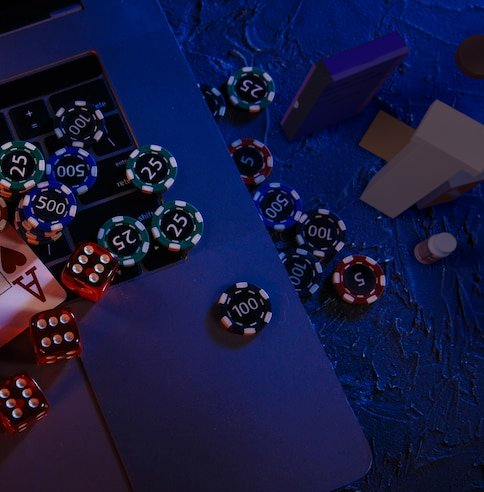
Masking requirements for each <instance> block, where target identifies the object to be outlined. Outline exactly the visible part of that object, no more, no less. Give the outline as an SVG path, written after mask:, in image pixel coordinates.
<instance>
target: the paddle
mask: <svg viewBox="0 0 484 492" xmlns="http://www.w3.org/2000/svg"><path fill="white" fill-rule="evenodd" d="M454 63H455V66H456V68H457V69H458V70H459V71H460V73H462V74H463V75H464V76H466V77H468V78H470V79H473V80H477V81H478V80H479V81H483V80H484V34H472V35H470V36H468V37H466V38H464V39H463V40H462V41H461V43H460V44H458V46H457V47H456V49H455V52H454Z"/></svg>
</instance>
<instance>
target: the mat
mask: <svg viewBox="0 0 484 492" xmlns="http://www.w3.org/2000/svg"><path fill="white" fill-rule="evenodd" d="M415 131H416V129H415V128H414V127H412V126H410V125H408V124H407V123H406V122H404V121H401V120H399V119H398V118H396V117H394V116H392V115H390V114H389V113H387V112H386V111H383V110H382V109H380V110H378V113H377V114H376V116H375V117H374V119H373V120H372V122H371V124H370V125H369V127H368V129H367V130H366V132H365V133H364V135H363V137H362V138H361V140H360V142H358V146H360V147H361V148H363V149H365V150H367V151H368V152H369V153H372V154H373V155H375V156H377V157H379V158H380V159H382V160H384V161H386V162H387V163H388V162H389V161H390V160H391V159H392V158H394V157H395V156H396V155H397V154H398V153H399V152H400V151H401V150H402V149H403V148H404V147H405V146H406V145H408V144H409V143H410V142H411V140H410V139H411V138H412V136H413V134H414V133H415Z"/></svg>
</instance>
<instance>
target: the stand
mask: <svg viewBox="0 0 484 492" xmlns="http://www.w3.org/2000/svg"><path fill="white" fill-rule="evenodd" d="M415 130H416V131H415V133H414V134H413V136H412V138H411V139H410V140H411V142H410V143H409V144H408V145H406V146H405V147H404V148H403V149H402V150H401V151H400V152H399V153H398V154H397V155H396V156H395V157H394V158H392V159H391V160H390V161H389V162H387V163H386V164H385V165H384V166H383V167H382V168H380V169H379V170H378V171H377V172H376V173H375V174H374V175H373V176H372V177H371V179H370V180H369V182H368V183H367V185H366V187H365V189H364V190H363V192H362V193H361V195H360V197H359V200H361V201H362V202H364V203H366V204H367V205H368V206H371V207H372V208H374V209H376V210H378V211H379V212H381V213H382V214H384V215H385V216H388V217H389V218H391V219H395V218H396V217H398V216H399V215H400V214H402V213H404V212H405V211H406V210H407V209H409V208H410V207H412V206H413V205H414V204H416V202H417V201H419V200H420V199H421V198H423V197H424V196H426V195H427V194H428V193H430V192H431V191H433V190H434V189H435V188H437V187H438V186H440V185H441V184H442V183H444V182H445V181H447V180H448V179H449V178H451V177H452V176H454V175H455V174H456V173H458V172H459V171H461V170H464V171H465V172H467V173H469V174H471V175H472V176H474V177H476V176H477V175H479V174H480V173H482V172H483V170H484V124H483V123H481V122H479V121H477V120H475V119H474V118H472V117H469V116H468V115H466V114H464V113H462V112H461V111H459V110H457V109H455V108H454V107H452V106H450V105H448V104H447V103H445V102H443V101H441V100H439V99H435V100H434V101H433V102H432V103H431V104H430V105H429V107H428V109H427V111H426V112H425V114H424V116H423V118H422V119H421V121H420V123H419V125H418V126H417V128H416V129H415Z"/></svg>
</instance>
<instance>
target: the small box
mask: <svg viewBox="0 0 484 492" xmlns="http://www.w3.org/2000/svg"><path fill="white" fill-rule="evenodd" d="M483 182H484V170H483V172H482V173H480V174H479V175H477V176H476V177H474V176H472V175H471V174H469V173H467V172H465V171H464V170H461V171H459V172H458V173H456V174H455V175H454V176H452V177H451V178H449V179H448V180H447V181H445V182H444V183H442V184H441V185H440V186H438V187H437V188H435V189H434V190H433V191H431V192H430V193H428V194H427V195H426V196H424V197H423V198H421V199H420V200H419V201H417V202H416V203H415V204H416V207H417V210H423V209H426V208H429V207H434V206H437V205H441V204H445V203H450V202H453V201H455V200H456V199H457V198H459V197H461V196H462V195H464V194H466V193H467V192H469V191H471V190H472V189H473V188H475V187H477V186H479V185H480V184H482V183H483Z"/></svg>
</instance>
